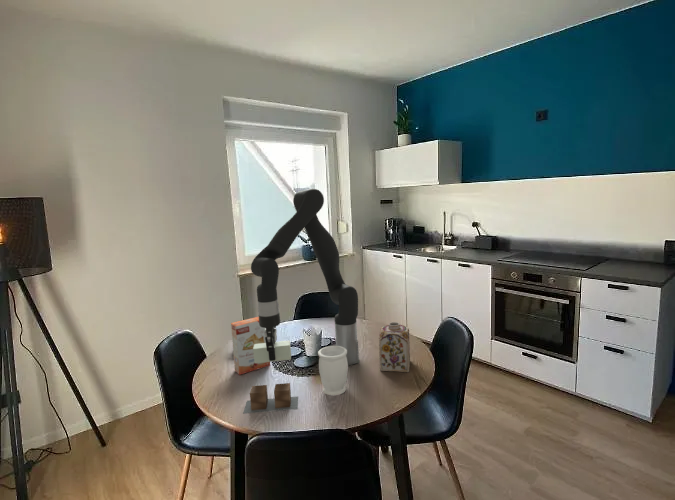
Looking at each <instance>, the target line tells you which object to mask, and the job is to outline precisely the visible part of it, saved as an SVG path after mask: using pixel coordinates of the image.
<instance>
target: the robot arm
mask: <svg viewBox="0 0 675 500" xmlns="http://www.w3.org/2000/svg"><path fill="white" fill-rule="evenodd" d="M292 201H293V203H292V204H293V206H294V210H295V213H294V215H293V216H292V217H290V219H289V220H288V221H286V222H285V223H284V224H283V225H282V226H281V227H280V228H279V229H278V230H277V231H276V233H275V234H273V237H272V238H271V240H270V241H269V243H268V244H267V245H266V246H265V247H264V248H263V249H261V251H259V253H258V254H256V255H255V257H254V259H253V260H252V261H251V265H250V271H251V273H252V274H253V275H254V276H255V277H256V276H257V277H259V278H261V283H260V284H259V285H257V288H256V296H257V314H258V316H257V317H259V325H260V327H262V328H266V329H265V341H266V347H267V351H268V352H269V360H270V361H273V362H275V361H274V360H275V359H276V358H275V343H276V342H278V341H277V340H278V339H277V338H278V336H277V334H278V333H277V331H278V329H277V327H278V326H279V325H280V324H281V315H280V305H279V300H278V290H277V289H278V288H277V286H278V281H279V275H280V269H279V268H280V267H279V263H278V262H277V261H276V260H277V259H281V258H283V257H285V255H286V253H287V252H288V251H289V249H290V248H291V246H292V244H293V243H294V241H295V240H296V239H297V238H298V236H299V235H300V233H301V232H302V231H303V230H305V232H306V234H307V236H308V239H309V241H310V244H311V246H312V250H313V252H314V255H315V257H316V259H317V262H318V264H319V267H320V270H321V273H322V274H323V276H324V279H325V282H326V287H327V291H328V293H329V298H330V299H331V302H333V303H334V304H335V305H337V306H338V313H337V314H335V316H334V333H335V335H334V337H335V346H341V347H344V348H346V350H347V354H346V357H347V362H348V366H352V365H354V364H355V365H356V364H359V363H360V359H359V358H360V356H359V339H358V328H357V327H358V326H357V324H358V322H357V318H358V316H359V315H358V314H359V295H358V292H357V289H356V288H355V287H354V286H351V285H348V284H346V283H345V281H344V279H343V277H342V274H341V271H340V253H339V250H338V247H337V244H336V241H335V239H334V237H333V235H331V233H330V232H329V231H328V230H327V229H326V228H325V227H324V226H323V224H322V223H321V221H320V220H319V218H318V215H317V214H318V213H319V212H320V210H322V208H323V206H324V204H325V198H324V195H323V193H322V192H321V191H320V190H319V189H317V188H308V189H302V190H299V191H297V192H296V193H295V194H294V196H293V200H292ZM269 346H272V347H270V348H269Z"/></svg>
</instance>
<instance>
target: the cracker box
mask: <svg viewBox="0 0 675 500" xmlns="http://www.w3.org/2000/svg"><path fill="white" fill-rule="evenodd" d="M230 329H231V340H232V341H231V342H232V353H233V355H232V356H233V365H234V366H233V368H234V371H235V372H236V373H237V374H238V375H239V376H240V375H243V374H247V373H250V372H254V371H256V370H260V369H262V368H265V367H269V366H271V362H264V363H254V353H253V347H254V344H260V343H266V341H265V329H266V328H262V327H260V325H259V316H255V317H251V318H246V319H243V320H238V321H234V322H231V323H230Z"/></svg>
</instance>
